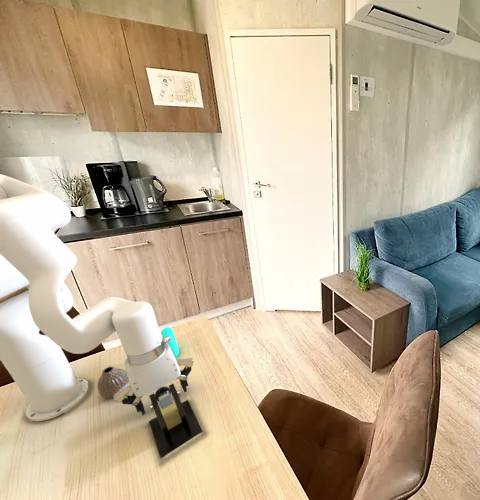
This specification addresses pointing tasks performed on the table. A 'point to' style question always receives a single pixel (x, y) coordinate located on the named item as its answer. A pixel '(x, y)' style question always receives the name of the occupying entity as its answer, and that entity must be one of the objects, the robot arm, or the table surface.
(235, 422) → the table surface
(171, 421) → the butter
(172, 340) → the turquoise capsule pair
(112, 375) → the vase
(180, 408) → the black lever base
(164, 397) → the ball knob lever
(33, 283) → the robot arm
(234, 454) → the table surface
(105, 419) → the table surface
